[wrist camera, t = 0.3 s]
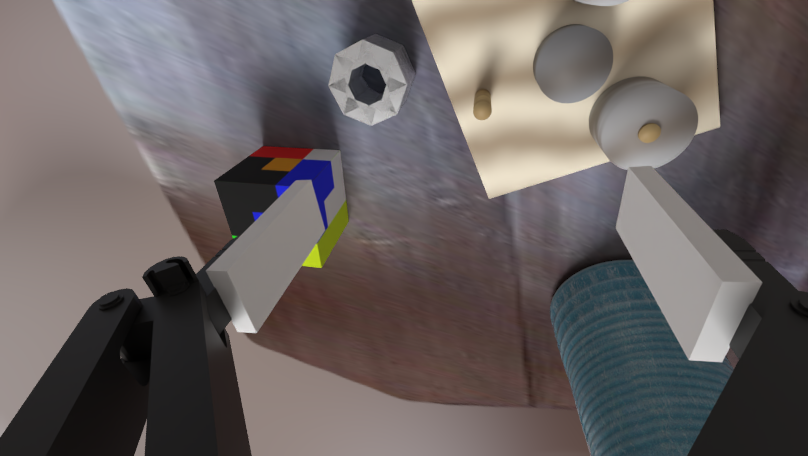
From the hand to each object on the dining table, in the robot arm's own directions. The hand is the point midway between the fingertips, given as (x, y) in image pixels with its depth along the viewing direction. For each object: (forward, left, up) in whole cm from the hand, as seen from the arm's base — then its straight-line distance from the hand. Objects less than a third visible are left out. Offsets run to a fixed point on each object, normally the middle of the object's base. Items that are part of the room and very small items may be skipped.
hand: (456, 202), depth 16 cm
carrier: (+2, +8, -25) cm, 27 cm away
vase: (+34, +8, -26) cm, 43 cm away
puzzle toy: (+4, -24, -26) cm, 35 cm away
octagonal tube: (-4, -8, -25) cm, 27 cm away
